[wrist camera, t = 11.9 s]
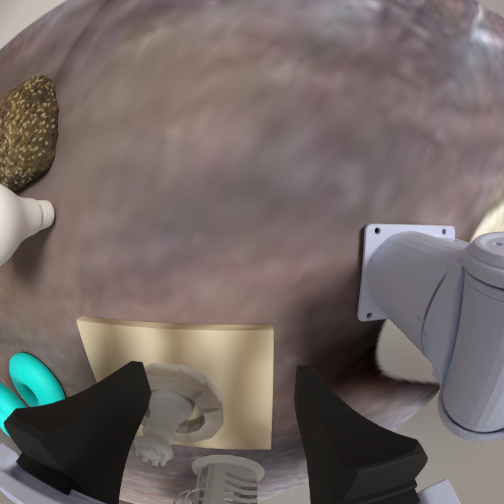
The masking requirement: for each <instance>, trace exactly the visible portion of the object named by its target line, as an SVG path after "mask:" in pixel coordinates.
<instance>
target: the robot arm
mask: <svg viewBox="0 0 504 504" xmlns="http://www.w3.org/2000/svg"><path fill="white" fill-rule="evenodd" d="M376 228H378V232H377V233H376V234H375V229H376ZM442 230H444V232H443V234H442ZM368 313H371V314H370V315H369V316H368V317H367V314H368ZM357 317H358V319H359V320H360V321H372V320H381V319H390V320H391V321H392V322H393V323H394V324H395V325H396V326H397V327H398V328H399V329H400V330H401V331H402V332H403V333H404V334H405V335H406V336H407V337H408V339H409V340H410V341H411V342H412V343H413V344H414V345H415V346H416V347H417V348H418V349H419V350H420V351H421V353H422V354H423V355H424V356H425V357H426V358H427V359H428V360H429V361H430V362H431V364H432V365H433V376H434V377H435V378H436V379H437V380H438V382H439V383H440V384H441V385H442V387H441V390H440V393H439V396H438V403H437V404H438V412H439V416H440V418H441V420H442V422H443V423H444V425H445V426H446V427H447V428H448V429H449V430H450V431H451V432H452V433H454V434H455V435H457V436H458V437H460V438H463V439H465V440H469V441H474V442H475V441H476V442H484V441H490V440H499V439H504V232H493V233H487V234H483V235H480V236H478V237H477V238H476V239H475V240H474V241H473V242H472V243H468V242H465V241H462V240H459V239H455V229H454V227H453V226H444V225H411V224H368V225H366V227H365V229H364V247H363V262H362V275H361V286H360V296H359V304H358V313H357ZM151 394H152V392H151V389H150V386H149V382H148V379H147V375H146V372H145V368H144V365H143V362H137V361H131V362H129V363H127V364H126V365H124V366H123V367H121V368H120V369H118V370H117V371H115V372H114V373H112V374H111V375H109V376H108V377H106V378H105V379H103V380H101V381H100V382H98V383H96V384H95V385H93V386H91V387H89V388H88V389H86V390H84V391H82V392H80V393H78V394H76V395H73V396H71V397H68V398H66V399H63V400H60V401H57V402H54V403H50V404H46V405H41V406H35V407H27V408H16V409H15V410H14V411H13V412H12V413H11V414H10V415H9V417H8V418H7V419H6V420H5V421H4V427H5V429H6V431H7V433H8V434H9V436H10V437H11V438H12V440H13V441H14V442H15V444H16V445H17V446H18V448H19V449H20V450H21V451H22V454H21V455H20V456H19V455H18V454H17V453H16V452H15V451H13V450H12V449H11V448H9V447H8V446H6V445H5V444H4V443H1V444H0V490H1V491H2V492H3V493H4V494H5V495H6V496H7V497H9V498H10V499H11V500H12V501H13V502H15V503H16V504H118V503H119V494H120V487H121V482H122V476H123V472H124V468H125V464H126V460H127V456H128V453H129V450H130V447H131V444H132V442H133V439H134V437H135V435H136V433H137V431H138V429H139V426H140V424H141V422H142V420H143V418H144V416H145V413H146V411H147V408H148V405H149V402H150V398H151ZM294 400H295V410H296V417H297V421H298V425H299V430H300V434H301V438H302V442H303V446H304V450H305V454H306V460H307V468H308V477H309V488H310V501H311V504H460V502H459V500H458V498H457V496H456V494H455V492H454V490H453V488H452V486H451V484H450V482H449V480H448V479H444V480H442V481H440V482H438V483H436V484H434V485H432V486H430V487H427V488H425V489H423V490H422V491H420V492H419V493H416V490H415V488H416V487H417V483H416V481H415V478H416V477H417V475H418V474H419V473H420V472H421V470H422V469H423V468H424V466H425V464H426V463H427V459H428V457H427V455H426V453H425V451H424V450H423V448H422V446H421V445H420V443H419V442H418V441H417V440H416V439H413V438H410V437H406V436H403V435H400V434H397V433H394V432H392V431H390V430H387V429H385V428H383V427H381V426H379V425H377V424H375V423H373V422H371V421H370V420H368V419H366V418H365V417H363V416H361V415H360V414H359V413H357V412H356V411H354V410H353V409H352V408H351V407H349V406H348V405H347V404H346V403H345V402H344V401H342V400H341V399H340V398H339V397H338V396H337V395H336V394H335V393H334V392H333V391H332V390H331V389H330V388H329V387H328V386H327V384H326V383H325V382H324V381H323V380H322V379H321V377H320V376H319V375H318V374H317V372H316V371H315V370H314V369H313V367H312V366H311V365H307V366H297V372H296V385H295V396H294Z"/></svg>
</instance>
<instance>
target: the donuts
mask: <svg viewBox="0 0 504 504" xmlns="http://www.w3.org/2000/svg"><path fill="white" fill-rule="evenodd" d="M9 372H10V377H11V380H12V382H13V384H14V386H15V388H16V390H17V392H18V393H19V394H20V396H21V397H22V398H23V400H24V401H25V402H26V403H27V404H28V405H29V406H30V407H35V406H41V405H46V404H50V403H54V402H57V401H60V400H63V399H66V398H65V394H64V392H63V389H62V387H61V386H60V384H59V382H58V381H57V379H56V378H55V376H54V375H53V374H52V373H51V371H50V370H49V369H48V368H47V367H46V366H45V365H44V364H43V363H42V362H40V361H39V360H38V359H37V358H35V357H33V356H32V355H30V354H27V353H17V354H15V355H13V357H12V358H11V360H10V363H9ZM16 408H27V407H26V406H25V405H24V404H23V402H22V401H21V400H20V399H19V398H18V397H17V396H16V395H15V394H14V393H13V392H12V391H11V390H10V389H9V388H7V387H6V386H5V385H3V384H2V383H0V428H1V429H2V430H3V431H4V432H5V433H6V434H7V435H8V436H9V434H8V433H7V431H6V429H5V427H4V421H5V420H6V419H7V418H8V417H9V415H10V414H11V413H12V412H13V411H14V410H15V409H16ZM10 438H11V437H10Z"/></svg>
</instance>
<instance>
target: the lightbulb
mask: <svg viewBox="0 0 504 504" xmlns="http://www.w3.org/2000/svg"><path fill="white" fill-rule="evenodd" d="M54 215H55V213H54V208H53V206H52V204H51V203H50V202H49V201H47V200H35V199H32V198H21V197H19V196H17V195H16V194H15V193H13V192H12V191H11V190H9V189H8V188H6V187H5V186H3V185H2V184H0V265H2V264H3V263H5V262H6V261H7V260H8V259H10V257H11V256H12V255H13V253H14V252H15V251H16V249H17V248H18V246H19V245H20V243H21V242H22V241H23V240H24V239H26V238H27V237H29V236H32V235H34V234H36V233H37V232H38V231H39V230H42V229H45V228H48V227H50V226H51V225H52V223H53V220H54Z"/></svg>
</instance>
